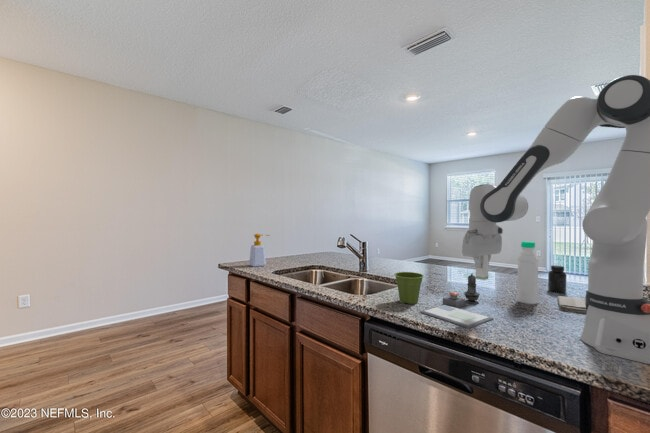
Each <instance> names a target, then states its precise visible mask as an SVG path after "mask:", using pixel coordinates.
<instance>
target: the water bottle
mask: <svg viewBox="0 0 650 433" xmlns="http://www.w3.org/2000/svg"><path fill="white" fill-rule="evenodd" d="M520 244H521V245H520V246H521V248H522V249H521V251H520V254H519V255H518V256H517V262H518V264H517V283H518V284H517V296H516V297H517V299H516V300H517V302H519V303H521V304H524V305H525V304H526V305H537V304H538V303H539V296H538V293H539V285H538V283H539V264H538V263H539V258H538V256H537V255H536V252H535V251H534V250H535V248H536V242H534V241H526V240H525V241H522V242H521V243H520Z"/></svg>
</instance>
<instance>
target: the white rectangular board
mask: <svg viewBox="0 0 650 433" xmlns="http://www.w3.org/2000/svg"><path fill="white" fill-rule="evenodd" d="M419 313H421V314H422V315H426V316H430V317H432V318H434V319H435V318H436V319H439V320H442V321H444V322H449V323H451V324H455V325H457V326H461V327H463V328H467V329H471V328H474V327H477V326H479V325H482V324H485V323H488V322H489V321H492V320H494V317H491V316H488V315H485V314H480V313H477V312H473V311H470V310H466V309H463V308H460V307H458V308H456V307H452V306H449V305H445V304H444V305H443V304H441V305H440V304H439V305H438V306H433V307H429V308H427V309H422V310H419Z"/></svg>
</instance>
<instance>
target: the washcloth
mask: <svg viewBox="0 0 650 433" xmlns="http://www.w3.org/2000/svg"><path fill="white" fill-rule="evenodd" d="M556 298H557V299H556V300H557V303H558V306H559V307H558V308H559V310H560V311H565V312H569V311H570V313H575V312H578V313H577V314H583V313H585V315H586V314H587V310H586V306H585V298H584V297H582V298H578V297H572V296H561V295H557V297H556Z"/></svg>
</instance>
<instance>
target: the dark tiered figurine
mask: <svg viewBox="0 0 650 433" xmlns="http://www.w3.org/2000/svg"><path fill="white" fill-rule="evenodd" d="M467 276H468V275H467ZM476 282H477V279H476V275H473V273H470V275H469V276H468V277H467V283H466V285H467V291H464V292H463V294H464V297H465V298H466V299H465V304H470V305H478V304H480V302H479V301H478V300H479V298H480V297H479V296H480V293H479V292H477V286H478V285H477V283H476Z"/></svg>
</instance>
